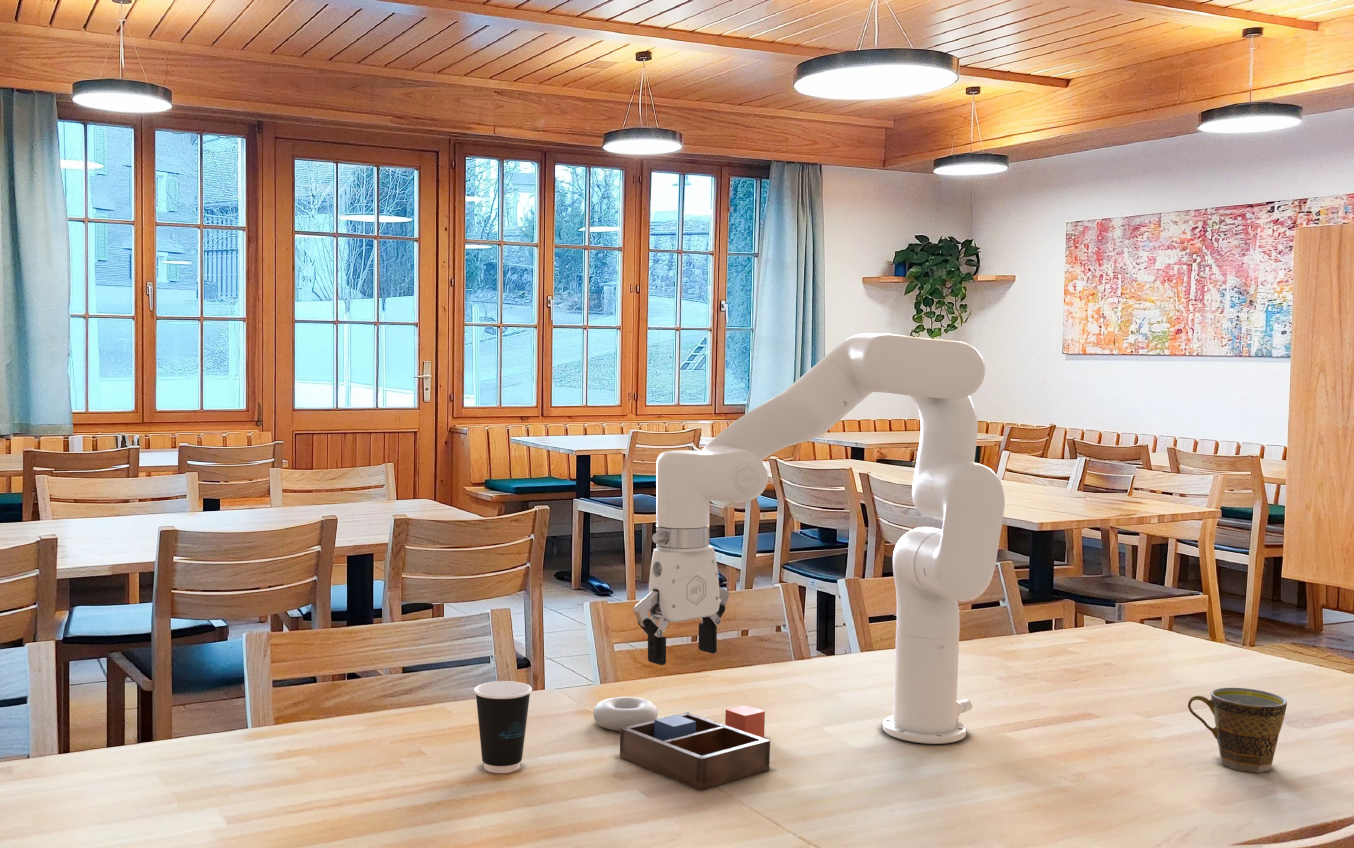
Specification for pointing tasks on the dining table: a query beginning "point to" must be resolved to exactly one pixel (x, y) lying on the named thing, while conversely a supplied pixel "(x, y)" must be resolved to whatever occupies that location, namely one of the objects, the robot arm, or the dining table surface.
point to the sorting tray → (697, 752)
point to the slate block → (673, 727)
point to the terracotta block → (746, 719)
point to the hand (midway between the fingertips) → (682, 657)
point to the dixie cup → (502, 723)
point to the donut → (624, 712)
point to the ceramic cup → (1245, 726)
